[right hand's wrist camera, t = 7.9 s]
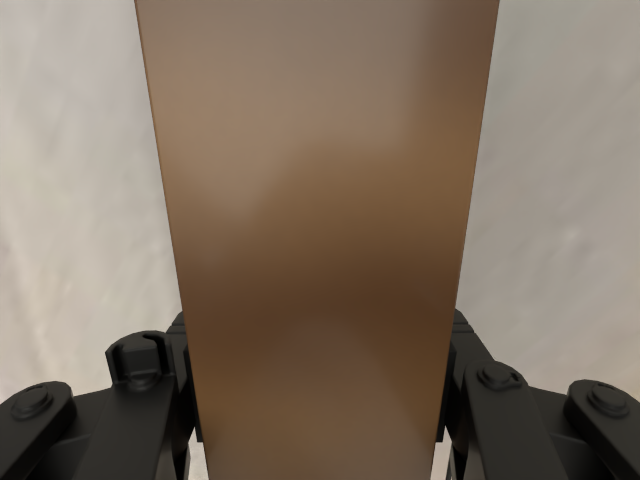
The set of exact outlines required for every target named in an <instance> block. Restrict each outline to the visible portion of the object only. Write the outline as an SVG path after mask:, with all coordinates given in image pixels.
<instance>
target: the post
mask: <svg viewBox="0 0 640 480" xmlns="http://www.w3.org/2000/svg"><path fill="white" fill-rule="evenodd" d="M499 1H500V0H134V2H135V8H136V15H137V21H138V28H139V34H140V40H141V47H142V53H143V60H144V66H145V73H146V79H147V85H148V92H149V98H150V105H151V111H152V118H153V124H154V130H155V137H156V143H157V150H158V156H159V163H160V169H161V175H162V182H163V188H164V195H165V201H166V208H167V214H168V220H169V227H170V233H171V240H172V246H173V253H174V259H175V265H176V272H177V278H178V285H179V291H180V298H181V304H182V310H183V317H184V323H185V330H186V336H187V343H188V349H189V355H190V362H191V368H192V375H193V381H194V388H195V394H196V400H197V407H198V413H199V420H200V426H201V433H202V439H203V445H204V452H205V458H206V465H207V471H208V478H209V480H430V478H431V471H432V464H433V457H434V450H435V443H436V436H437V429H438V423H439V416H440V409H441V402H442V395H443V388H444V381H445V374H446V367H447V360H448V353H449V346H450V340H451V333H452V326H453V319H454V312H455V305H456V298H457V291H458V284H459V277H460V270H461V263H462V257H463V250H464V243H465V236H466V229H467V222H468V215H469V208H470V201H471V194H472V187H473V180H474V174H475V167H476V160H477V153H478V146H479V139H480V132H481V125H482V118H483V111H484V104H485V97H486V91H487V84H488V77H489V70H490V63H491V56H492V49H493V42H494V35H495V28H496V21H497V15H498V8H499Z"/></svg>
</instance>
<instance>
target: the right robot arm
mask: <svg viewBox="0 0 640 480" xmlns="http://www.w3.org/2000/svg"><path fill="white" fill-rule="evenodd" d="M105 355H106V359H107V363H108V367H109V371H110V375H111V379H112V383H113V384H112V386H111V388H108V389H104V390H101V391H96V392H92V393H87V394H83V395H78V396H74V397H73V393H72V390H71V387H70V386H69V385H67V384H66V383H64V382H58V381H52V382H44V383H40V384H36V385H33V386H30V387H28V388H26V389H24V390H22V391H20V392H18V393H16V394H14V395H12V396H11V397H10V398H8V399H7V400H6V401H4V402H3V403H2V404H1V405H0V480H188V475H189V467H190V450H189V444H188V442H189V439H190V437H191V434H192V432H193V429H194V427H195V431H196V437H197V442H203V439H202V433H201V426H200V420H199V413H198V407H197V400H196V394H195V388H194V381H193V375H192V368H191V362H190V355H189V349H188V343H187V336H186V330H185V323H184V317H183V311H182V312H180V313H179V314H178V315H177V317H176V318H175V320H174V321H173V323H172V326H170V327H169V328H168V330H167V331H166V333H164V332H160V331H156V330H155V331H142V332H137V333H133V334H130V335H128V336H125V337H123V338H121V339H119V340H118V341H116V342H115V343H113V344H112V345H111V346H110V347H109V348H108V349H107V351H106V352H105ZM445 425H446V428H447V430H448V433H449V436H450V438H451V441H452V444H451V450H450V456H449V462H448V468H447V474H446V480H451V476H452V480H640V403H639V402H638V401H637V400H636V399H634V398H633V397H631V396H630V395H629V394H627V393H626V392H624V391H622V390H620V389H618V388H616V387H614V386H612V385H609V384H605V383H603V382H599V381H594V380H585V379H584V380H578V381H574V382H573V383H572V384H571V385H570V386H569V389H568V392H567V395H564V394H560V393H555V392H551V391H546V390H542V389H538V388H534V387H531V386H528V383H527V382H526V380H525V379H524V378H523V376H522V375H521V374H520V373H518V372H517V371H516V370H515V369H513V368H512V367H510V366H508V365H506V364H503V363H501V362H498V361H495V360H494V359H493V357H492V356H491V355H490V353H489V352H488V350H487V349H486V347H485V346H484V344H483V343H482V342H481V340H480V339H479V337H478V336H477V334H476V333H474V330H473V329H472V327H471V326H470V325H468V321H467V320H466V319H465V317H464V316H463V314H462V313H461V312H460V311H458V310H457V309H456V308H455V312H454V319H453V326H452V333H451V340H450V346H449V353H448V360H447V367H446V374H445V381H444V388H443V395H442V402H441V409H440V416H439V423H438V429H437V436H436V442H443V436H444V430H445Z"/></svg>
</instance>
